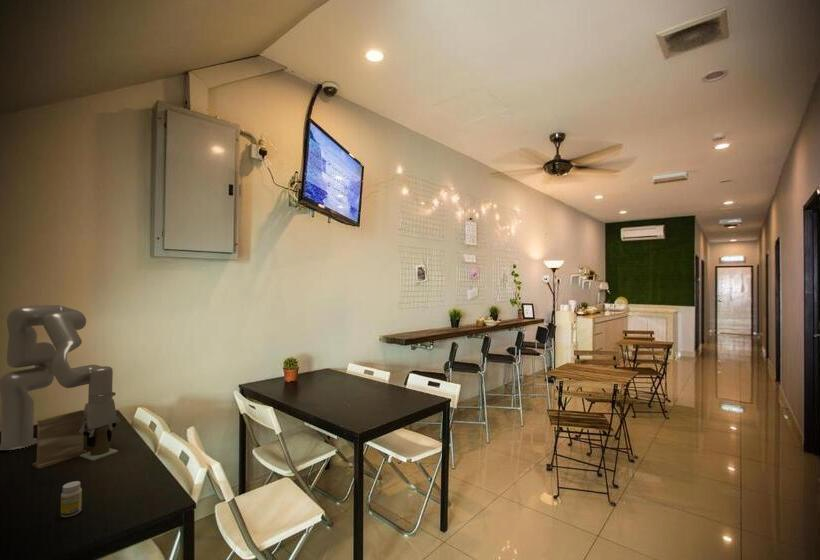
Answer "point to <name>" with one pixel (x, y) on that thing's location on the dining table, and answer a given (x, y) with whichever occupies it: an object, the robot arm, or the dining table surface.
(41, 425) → the wooden board
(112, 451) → the coaster
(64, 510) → the supplement bottle
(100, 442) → the cork
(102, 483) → the dining table surface
